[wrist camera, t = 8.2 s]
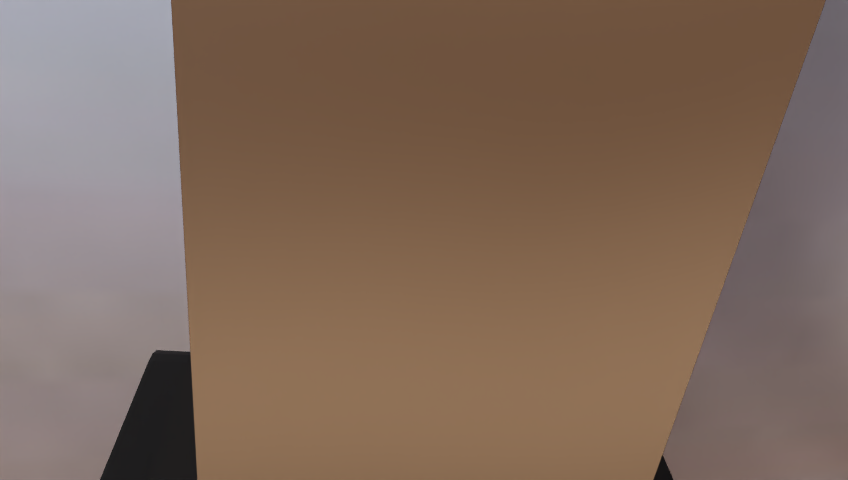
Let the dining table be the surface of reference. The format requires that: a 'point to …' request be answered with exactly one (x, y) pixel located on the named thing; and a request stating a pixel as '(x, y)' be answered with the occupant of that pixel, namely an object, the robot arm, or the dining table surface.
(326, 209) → the brown wooden block
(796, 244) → the dining table surface
